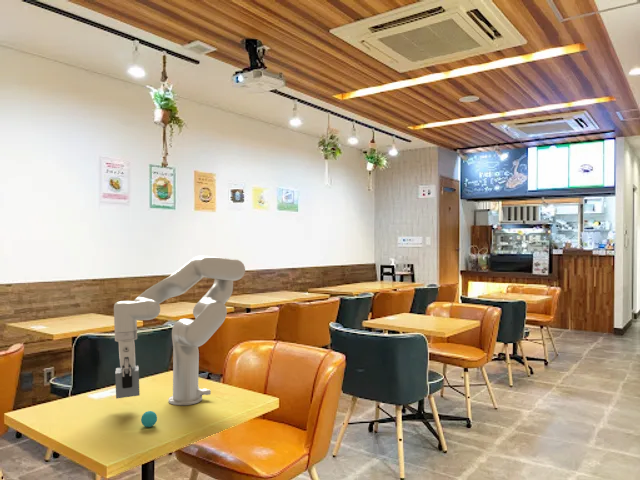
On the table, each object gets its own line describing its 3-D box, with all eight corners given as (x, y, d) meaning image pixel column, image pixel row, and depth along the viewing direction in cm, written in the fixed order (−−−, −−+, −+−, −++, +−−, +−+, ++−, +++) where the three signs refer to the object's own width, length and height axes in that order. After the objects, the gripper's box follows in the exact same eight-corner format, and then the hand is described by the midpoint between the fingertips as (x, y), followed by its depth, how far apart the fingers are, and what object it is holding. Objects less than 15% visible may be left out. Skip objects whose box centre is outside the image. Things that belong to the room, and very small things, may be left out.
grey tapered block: (139, 389, 182) (138, 365, 182) (139, 395, 175) (138, 370, 175) (116, 392, 179) (116, 368, 179) (116, 398, 172) (115, 373, 172)
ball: (156, 423, 165) (156, 408, 165) (157, 428, 161) (157, 412, 161) (140, 424, 164) (141, 409, 164) (141, 430, 159) (141, 414, 159)
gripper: (137, 339, 170) (138, 389, 170) (137, 330, 186) (138, 376, 186) (113, 341, 167) (115, 392, 167) (115, 332, 184) (117, 379, 184)
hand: (127, 384), depth 177 cm, fingers closed on grey tapered block, 7 cm apart
